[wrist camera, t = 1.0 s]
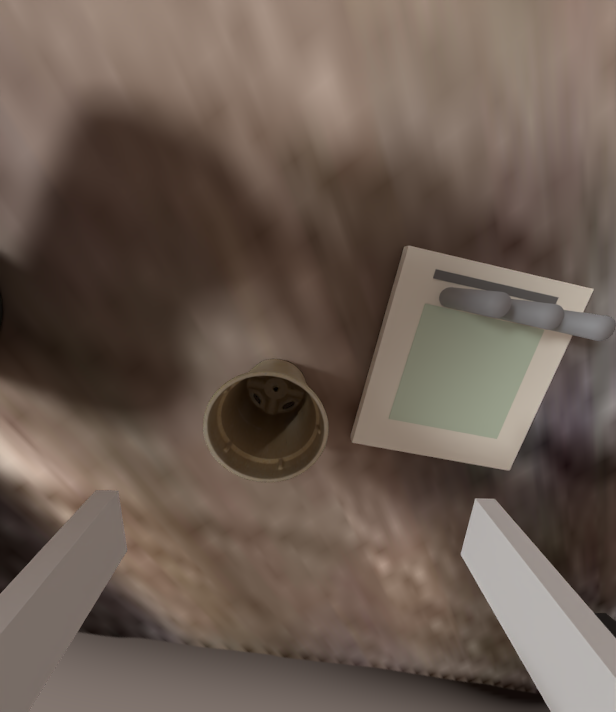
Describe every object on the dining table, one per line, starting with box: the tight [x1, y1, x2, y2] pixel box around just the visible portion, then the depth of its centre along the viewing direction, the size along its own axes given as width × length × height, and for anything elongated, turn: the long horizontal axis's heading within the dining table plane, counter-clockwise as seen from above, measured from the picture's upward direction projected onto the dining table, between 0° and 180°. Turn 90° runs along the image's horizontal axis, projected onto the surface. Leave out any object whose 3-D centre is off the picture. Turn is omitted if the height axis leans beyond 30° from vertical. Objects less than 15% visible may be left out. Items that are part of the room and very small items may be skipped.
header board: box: [350, 246, 616, 471], centre depth 26 cm, size 18×20×8 cm
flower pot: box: [203, 359, 328, 482], centre depth 26 cm, size 9×9×9 cm
